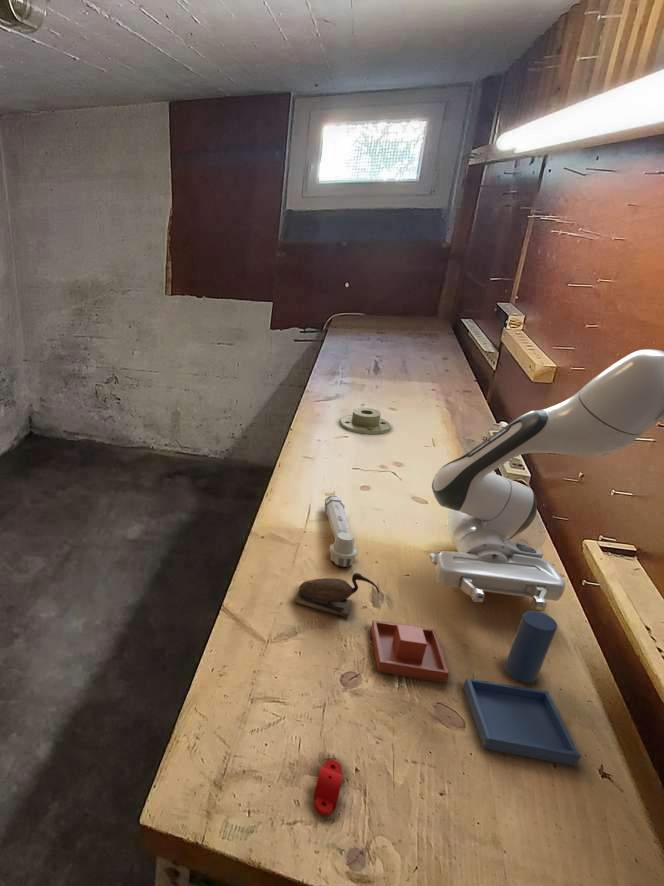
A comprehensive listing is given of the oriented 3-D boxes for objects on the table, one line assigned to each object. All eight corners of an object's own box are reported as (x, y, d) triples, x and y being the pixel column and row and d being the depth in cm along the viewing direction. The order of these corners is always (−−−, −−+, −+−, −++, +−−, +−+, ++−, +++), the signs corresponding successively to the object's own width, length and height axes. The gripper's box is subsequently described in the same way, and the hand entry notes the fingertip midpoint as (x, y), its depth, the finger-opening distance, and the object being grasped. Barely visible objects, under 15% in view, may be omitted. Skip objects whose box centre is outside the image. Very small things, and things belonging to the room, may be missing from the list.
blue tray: (544, 700, 86) (548, 691, 85) (575, 766, 76) (580, 755, 75) (462, 687, 89) (466, 677, 88) (483, 748, 79) (487, 738, 78)
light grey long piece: (345, 495, 137) (361, 539, 113) (341, 520, 139) (357, 568, 116) (322, 493, 138) (334, 536, 115) (319, 518, 140) (330, 565, 117)
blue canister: (530, 665, 92) (550, 613, 88) (540, 685, 89) (562, 632, 84) (500, 660, 94) (518, 608, 89) (509, 680, 90) (528, 627, 85)
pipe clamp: (333, 819, 71) (335, 808, 70) (310, 809, 72) (312, 798, 71) (344, 767, 77) (346, 757, 76) (323, 759, 78) (325, 748, 77)
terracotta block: (417, 645, 96) (422, 627, 95) (422, 662, 93) (427, 644, 91) (392, 641, 97) (396, 623, 96) (396, 658, 94) (400, 640, 92)
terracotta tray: (432, 638, 98) (435, 629, 98) (446, 682, 90) (449, 673, 89) (370, 628, 101) (372, 619, 100) (377, 671, 92) (380, 661, 91)
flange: (384, 404, 189) (338, 404, 191) (397, 421, 176) (348, 420, 178) (382, 417, 192) (336, 416, 193) (395, 434, 178) (346, 433, 180)
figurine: (375, 610, 105) (383, 573, 101) (372, 625, 102) (380, 587, 98) (299, 589, 112) (304, 553, 108) (294, 602, 108) (299, 565, 104)
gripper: (431, 537, 111) (447, 579, 99) (550, 550, 106) (582, 597, 94) (424, 563, 113) (439, 608, 102) (540, 577, 108) (571, 626, 96)
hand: (509, 602), depth 98 cm, fingers open, 8 cm apart
